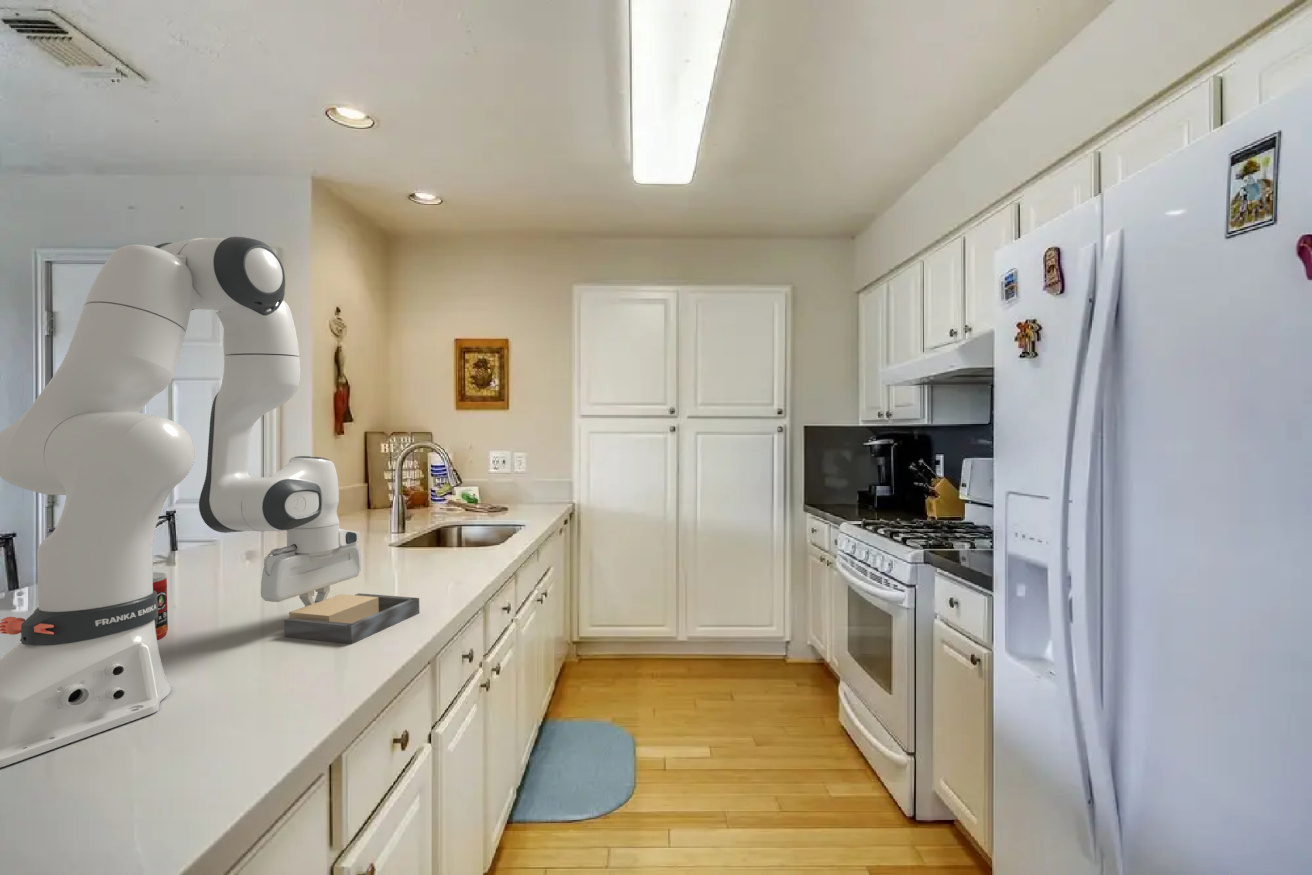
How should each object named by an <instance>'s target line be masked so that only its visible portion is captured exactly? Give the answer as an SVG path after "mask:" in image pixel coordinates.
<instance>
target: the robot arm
mask: <svg viewBox="0 0 1312 875" xmlns="http://www.w3.org/2000/svg"><path fill="white" fill-rule="evenodd" d="M285 289H286V275H285V269H284V266H283V264H282V262H281V260H280V258H279V257H278V255H277V254H276V253H275V251H274V250H273V249H272V248H271V247H270V246H269V245H268V244H266V243H265V242H263V241H261V240H258V239H254V238H251V237H244V236H243V237H242V236H229V237H226V238H224V237H211V238H209V237H208V238H207V237H197V238H189V239H184V240H180V241H177V242H164V243H160V244H157V245H155V246H152V245H146V244H127V245H124V246H120V247H118V248H117V249H115V250H114V251H113V252H112V253H111V255H110V256H109V257H108V259H107V260H106V261H105V263H104V264H103V266H102V267H101V269H100V271H98V273H97V276H96V278H95V280H94V282H93V283H92V285H91V288H90V290H89V291H88V294H87V297H86V300H85V302H84V305H83V308H82V311H81V314H80V317H79V319H78V322H77V324H76V327H75V330H74V333H73V335H72V337H71V338H72V339H71V341H70V343H69V346H68V349H67V352H66V354H65V356H64V357H63V360H62V362H61V363H60V366H59V367H58V369H57V370H56V371H55V372H54V374H53V376H52V378H51V379H50V380H49V381H48V383H47V384H46V386H45V387H44V388H43V390H42V391H41V392H40V393H39V395H38V396H37V398H36V399H35V400H34V401H33V402H32V404H31V405H30V406H29V408H28V409H27V410H26V411H25V412H24V413H23V415H22V416H20V417H19V418H18V419H17V420H16V421H14V422H13V423H11V424H10V425H8V426H7V427H5V428H4V429H2V430H1V431H0V478H1V479H2V480H3V481H5V482H6V483H9V484H10V485H13V486H15V487H18V488H20V489H24V490H27V491H31V492H34V493H38V494H40V495H41V494H42V495H50V496H65V501H64V506H63V508H62V512H61V516H60V518H59V520H58V523H57V525H56V526H55V528H54V529H53V531H52V532H51V533H50V534H49V535H48V536H47V537H45V539H43V541H42V542H41V543H40V544H39V546H38V547H37V548H38V549H37V552H36V557H37V560H36V561H37V562H36V563H37V596H38V598H37V599H38V602H37V603H38V604H37V605H38V606H37V607H36V608H35V610H34V611H33V612H32V614H31V615H30V616H28V617H27V618H26V619H25V618H23V617H16V616H7V617H4V618H2V619H0V634H5V635H7V634H8V635H13V636H15V635H19V634H20V640H19V641H20V642H19V644H17V645H16V646H15V647H14V648H13V649H12V650H10V651H9V652H7V654H6V655H4V656H3V657H2V658H0V768H3V767H6V766H9V765H12V764H14V763H17V762H20V761H23V760H26V759H29V758H31V757H34V756H37V755H39V754H42V753H46V752H48V751H51V750H55V749H57V748H60V747H62V746H65V745H68V744H70V743H71V744H72V743H74V742H76V741H80V740H82V739H85V738H88V737H91V736H92V735H96V734H100V733H101V732H104V731H107V730H109V729H113V728H115V727H118V726H122V725H124V724H127V723H130V722H132V721H135V720H138V719H141V718H143V717H147V716H149V715H151V714H154V713H156V712H157V711H159V710H160V706H161V705H160V703H161V701H163V699H165V698H166V697H167V696H168V695H169V694H170V692H171V690H172V687H171V685H170V683H169V681H168V678H167V676H166V674H165V670H164V666H163V663H162V660H161V656H160V655H161V654H160V650H159V646H158V640H157V637H156V630H155V628H156V625H157V619H158V602H157V592H156V591H154V590H153V572H154V570H153V569H154V566H153V565H154V561H153V560H154V549H153V548H154V539H155V538H154V536H155V532H156V528H157V525H158V524H157V523H158V520H159V517H160V515H161V511H162V509H163V508H164V504H165V502H166V501H167V498H168V497H169V495H170V493H171V492H172V491H173V489H174V488H175V487H176V486H178V484H180V483H181V482H182V481H183V480H184V479H185V478H187V476H188V475H189V473H190V472H191V469H192V467H193V465H194V463H195V462H194V461H195V458H196V457H195V455H196V452H195V445H194V443H193V440H192V439H193V438H192V437H191V435H190V434H189V433H188V431H187V430H186V429H185V428H184V427H183V426H182V425H180V424H179V423H178V422H175V421H174V420H172V419H171V420H170V419H169V418H164V417H161V416H156V415H153V414H152V415H151V414H148V413H143V412H141V411H142V410H143V409H144V407H145V406H146V405H147V404H148V403H149V402H150V401H151V400H152V399H153V398H154V397H155V396H157V395H158V394H160V393H161V392H162V391H164V390H165V389H167V387H169V385H170V384H171V383H172V381H173V379H174V375H175V371H176V368H177V364H178V361H179V357H180V354H181V350H182V347H183V343H184V339H185V336H186V334H187V329H188V325H189V322H190V316H191V312H192V311H193V310H202V311H203V310H205V311H206V310H211V311H212V310H213V311H216V312H215V314H216V316H217V317H218V319H219V321H220V323H221V325H222V328H223V338H222V340H223V345H222V346H223V375H222V381H221V385H220V388H219V390H218V392H217V393H216V395H215V397H214V399H213V400H212V404H211V409H210V410H211V411H210V417H209V418H210V419H209V432H208V444H207V445H208V447H207V458H206V459H207V460H206V462H207V464H206V473H205V479H204V483H203V484H202V489H201V492H200V496H199V500H198V509H199V510H198V511H199V514H200V517H201V518H202V521H203V522H204V524H206V526H208V528H210V529H212V530H213V531H216V532H218V533H224V534H226V533H238V532H240V533H241V532H285V531H286V546H284V547H280V548H278V547H277V548H274V549H272V550H270V552H269V553H268V554H267V555H266V557H264V559H263V569H262V574H261V581H260V597H261V598H262V600H264V601H265V602H272V603H274V602H275V603H279V602H282V601H285V600H289V599H293V598H295V597H298V596H299V599H300V600H301V602H302V603H303V605H304V607H306V606H309V605H312V604H314V603H317V602H320V601H323V600H326V599H328V596H329V594H330V591H331V590H330V588H331V586H332V585H336V584H339V583H342V582H345V581H349V580H352V579H354V578H357V577H358V576H359V575H360V572H361V571H362V552H361V546H360V545H359V544H358V543H359V542H360V541H361V540H360V539H361V534H360V532H359V531H354V530H348V529H344V528H341V527H340V519H339V515H338V506H339V502H340V488H339V478H338V472H337V469H336V466H335V465H336V464H334V462H333V461H331V460H330V459H328V458H324V457H321V456H309V455H298V456H294V457H293V456H292V457H291V458H290V459H289V460H288V463H287V464H286V465H284V467H282V468H281V469H279V470H278V471H277V472H274V473H272V474H270V475H269V476H265V477H264V476H263V477H262V476H261V477H258V476H257V477H256V476H255V477H253V476H251V475H250V474H249V471H248V470H249V469H248V468H249V466H248V465H249V456H250V455H249V452H250V439H251V438H250V437H251V432H252V430H253V426H254V425H255V423H256V422H257V421H258V420H259V419H260V418H262V417H263V416H264V415H266V414H267V413H269V412H270V411H273V410H275V409H277V408H280V407H281V406H282V405H284V404H286V403H287V402H288V401H289V400H291V398H292V397H293V396H294V395H295V394H296V392H297V391H298V389H299V388H300V387H299V386H300V382H301V359H300V348H299V347H300V346H299V340H298V334H297V330H296V329H297V328H296V326H295V321H294V318H293V314H292V311H291V308H290V306H289V304H288V303H287V302H286V301H285V300H284V297H285V291H286V290H285ZM315 592H317V593H316V596H315ZM314 596H315V599H314V598H313V597H314Z"/></svg>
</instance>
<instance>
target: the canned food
mask: <svg viewBox="0 0 1312 875" xmlns="http://www.w3.org/2000/svg"><path fill="white" fill-rule="evenodd" d="M167 577H168V576H167V573H165V572H155V571H153V590H154V591H156V592H157V602H158V619H157V625H156V628H155V630H156V637H157V641H158V640H160V639H163V638H164V637H166V636H167V632H168V630H169V629H168V628H169V626H168V625H169V622H168V621H169V620H168V618H169V617H168V582H167V581H168V578H167Z"/></svg>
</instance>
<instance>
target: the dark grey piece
mask: <svg viewBox="0 0 1312 875" xmlns="http://www.w3.org/2000/svg"><path fill="white" fill-rule="evenodd" d="M355 595H358V596H371V597H378V602H379V612H378V613H376V614H373V615H371V616H368V617H366V618H364V619H361V620H359V621H356V622H354V623H340V622H330V621H319V620H309V619H298V618H289V617H288V618H285V619H284V620H283V621H284V622H283V624H284V625H283V626H284V628H283V629H284V637H285V638H292V639H293V638H295V639H303V640H313V641H314V640H315V641H321V642H322V641H323V642H331V643H341V644H342V643H343V644H351V645H353V644H355V643H357V642H359V641H362V640H364V639H366V638H368V637H370V636H372V635H375V634H377V633H379V632H381V631H383V630H385V629H387V628H389V627H392V626H395V625H397V624H399V623H401V622H403V621H405V620H408V619H410V618H412V617H415V616H417V615H418V614H420V597H409V596H398V595H395V596H394V595H387V594H386V595H385V594H371V593H356V594H355Z"/></svg>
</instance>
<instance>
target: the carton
mask: <svg viewBox="0 0 1312 875" xmlns="http://www.w3.org/2000/svg"><path fill="white" fill-rule="evenodd" d="M378 612H379V602H378V597H371V596H358V595H356V594H342V593H341V594H337V595H335V596H332V597H330V598H326V600H323V601H320V602H317V603H314V604H312V605H309V606H306V607H305V606H303V607H300V608H297V609H294V610H292V611H289V612H288V618H298V619H309V620H319V621H330V622H340V623H354V622H356V621H359V620H361V619H364V618H366V617H368V616H371V615H373V614H376V613H378Z"/></svg>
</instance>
